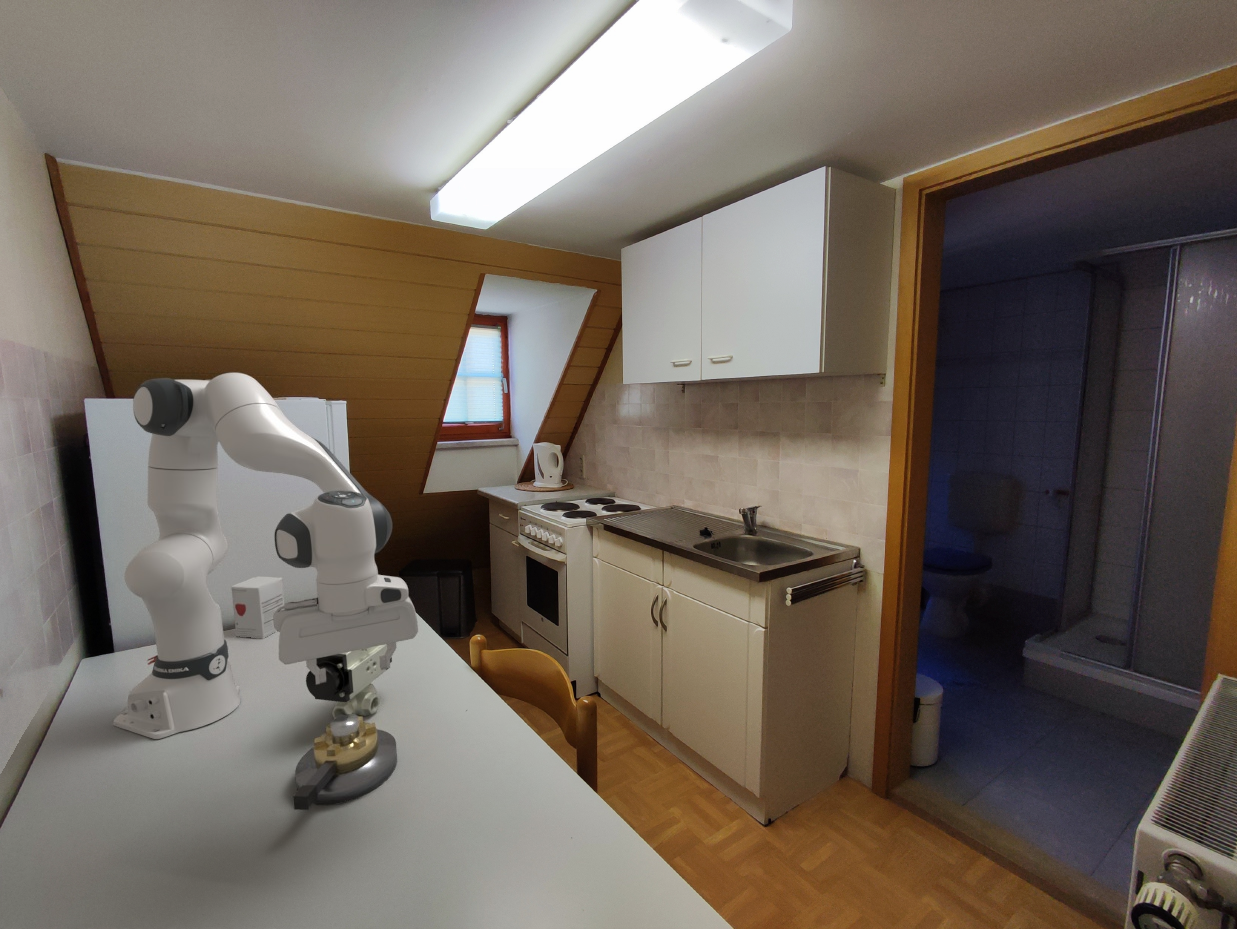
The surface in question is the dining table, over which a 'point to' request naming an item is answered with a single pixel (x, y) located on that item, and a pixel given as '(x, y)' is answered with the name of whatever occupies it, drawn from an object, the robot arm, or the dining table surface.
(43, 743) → the dining table surface
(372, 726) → the lever handle valve
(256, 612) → the supplement box
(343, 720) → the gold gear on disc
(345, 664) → the ball valve
